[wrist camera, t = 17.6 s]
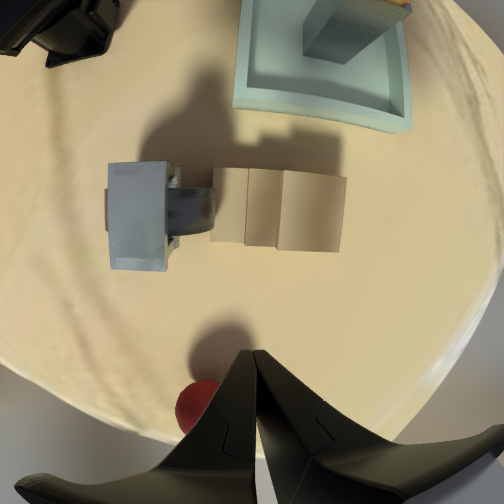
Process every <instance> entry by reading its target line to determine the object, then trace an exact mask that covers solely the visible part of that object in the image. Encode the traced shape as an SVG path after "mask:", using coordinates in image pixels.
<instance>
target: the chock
mask: <svg viewBox="0 0 504 504" xmlns="http://www.w3.org/2000/svg"><path fill="white" fill-rule="evenodd" d="M346 182H347V177H340V176H333V175H325V174H317V173H308V172H298V171H288V170H281V171H280V170H268V169H254V168H249V169H244V168H224V167H213V185H212V188H216V197H215V223H214V228H213V229H212V230H211V235H210V241H213V242H241V243H244V244H245V246H267V247H276V248H277V250H285V251H312V252H339V248H340V241H341V233H342V224H343V215H344V205H345V194H346Z"/></svg>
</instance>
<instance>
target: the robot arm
mask: <svg viewBox="0 0 504 504" xmlns="http://www.w3.org/2000/svg"><path fill="white" fill-rule="evenodd" d="M114 3H115V4H114ZM119 5H120V1H119V0H0V55H7V56H14V57H17V56H18V54H19V53H20V52H21V50H22V49H23V48H24V47H25V46H26V45H27V44H28V43H29V42H30V41H32V42H33V43H35V44H37V45H38V46H40V47H41V48H43V49H44V50H46V51H48V52H49V53H48V57H47V60H46V64H45V66H46V67H47V68H49V69H50V68H53V67H57V66H60V65H64V64H67V63H71V62H75V61H79V60H83V59H87V58H91V57H96V56H101V55H103V54H104V53H105V52H106V50H107V46H108V42H109V38H110V34H111V33H112V32H113V29H114V26H115V22H116V19H117V16H118V13H119V11H118V8H119ZM100 49H102V50H101V51H99V50H100ZM50 63H51V64H50ZM49 64H50V65H49ZM256 422H257V426H258V430H259V434H260V438H261V442H262V446H263V450H264V453H265V457H266V461H267V465H268V469H269V472H270V476H271V480H272V483H273V487H274V491H275V494H276V498H277V501H278V504H504V467H503V465H502V464H501V463H500V462H499V460H498V459H497V457H498V456H499V455H500V454H501V453H502V452H503V451H504V424H499V425H494V426H491V427H490V428H488V429H487V430H485V431H484V432H482V433H480V434H478V435H475V436H472V437H469V438H465V439H460V440H453V441H445V442H438V443H427V444H414V445H402V444H397V443H393V442H390V441H388V440H386V439H384V438H382V437H380V436H379V435H377V434H375V433H373V432H371V431H370V430H368V429H366V428H364V427H363V426H361V425H359V424H358V423H356V422H354V421H353V420H351V419H349V418H348V417H346V416H345V415H343V414H342V413H340V412H339V411H338V410H336V409H335V408H334V407H332V406H331V405H330V404H329V403H327V402H326V401H323V399H322V398H321V397H320V396H318V395H317V394H316V393H315V392H314V391H312V390H311V389H310V388H309V387H307V386H306V385H305V384H304V383H303V382H301V381H300V380H299V379H298V378H297V377H295V376H294V375H293V374H292V373H291V372H290V371H288V370H287V369H286V368H285V367H284V366H283V365H281V364H280V363H279V362H278V361H277V360H276V359H275V358H273V357H272V356H271V355H270V354H269V353H268V352H267V351H265V350H253V351H252V350H240V351H239V352H238V354H237V356H236V357H235V359H234V361H233V362H232V364H231V366H230V368H229V369H228V371H227V373H226V375H225V376H224V378H223V380H222V381H221V383H220V385H219V387H218V388H217V390H216V392H215V393H214V395H213V397H212V398H211V400H210V402H209V403H208V405H207V407H206V408H205V410H204V411H203V413H202V415H201V416H200V418H199V419H198V421H197V422H196V424H195V425H194V426H193V427H192V429H191V430H190V431H189V432H188V433H187V435H186V436H185V437H184V438H183V439H182V440H181V441H180V442H179V443H178V444H177V446H176V447H175V448H174V449H173V450H172V451H171V452H170V453H169V454H168V455H167V456H166V457H165V459H163V460H162V461H161V462H160V463H159V464H158V465H157V466H155V467H154V468H152V469H151V470H149V471H146V472H143V473H140V474H136V475H133V476H129V477H125V478H122V479H117V480H114V481H109V482H104V483H99V484H91V485H90V484H78V483H73V482H70V481H67V480H64V479H61V478H58V477H56V476H54V475H51V474H47V473H38V474H34V475H29V476H26V477H24V478H22V479H21V480H19V481H18V482H17V483H16V484H15V485H14V488H15V490H16V491H17V492H18V493H19V494H20V495H21V496H22V497H23V498H24V499H25V500H26V501H27V502H28V503H30V504H257V495H256V484H255V452H256Z"/></svg>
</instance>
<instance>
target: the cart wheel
mask: <svg viewBox="0 0 504 504" xmlns="http://www.w3.org/2000/svg"><path fill="white" fill-rule="evenodd" d="M215 197H216V188H212V187H195V186H181V166H175V165H171V164H169V162H167V161H149V162H122V163H108V188H107V189H105V230H106V231H107V232H108V236H109V253H110V265H111V269H117V270H137V271H159V272H165V271H166V270H167V268H168V258H169V256H170V255H171V253H172V252H173V250H174V249H176V248H178V247H179V246H180V236H182V235H191V234H197V233H202V232H206V231H209V230H212V229H213V228H214V223H215Z"/></svg>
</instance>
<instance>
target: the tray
mask: <svg viewBox="0 0 504 504" xmlns="http://www.w3.org/2000/svg"><path fill="white" fill-rule="evenodd" d="M315 2H316V0H242V4H241V13H240V22H239V32H238V42H237V52H236V63H235V74H234V86H233V99H232V109H243V110H256V111H268V112H277V113H286V114H294V115H301V116H308V117H315V118H321V119H327V120H332V121H338V122H343V123H348V124H352V125H357V126H362V127H366V128H370V129H374V130H378V131H382V132H386V133H390V134H395V133H400V132H406V131H411V130H412V99H411V84H410V73H409V64H408V55H407V48H406V41H405V35H404V30H403V24H402V20H401V21H399V22H398V23H397V24H395V25H394V26H393V27H391V28H390V29H389V30H387V31H386V32H385V33H383V34H382V35H381V36H379V37H378V38H377V39H376V40H374V41H373V42H372V43H371V44H369V45H368V46H367V47H365V48H364V49H363V50H362V51H361V52H359V53H358V54H357V55H356V56H354V57H353V58H352V59H351V60H350V61H348V62H347V63H346V64H345V65H342V64H338V63H334V62H330V61H325V60H321V59H316V58H311V57H306V56H303V22H304V20H305V19H306V17H307V15H308V14H309V12H310V10H311V8H312V7H313V5H314V3H315Z"/></svg>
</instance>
